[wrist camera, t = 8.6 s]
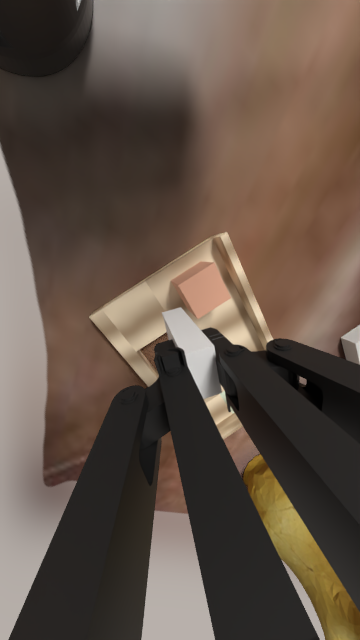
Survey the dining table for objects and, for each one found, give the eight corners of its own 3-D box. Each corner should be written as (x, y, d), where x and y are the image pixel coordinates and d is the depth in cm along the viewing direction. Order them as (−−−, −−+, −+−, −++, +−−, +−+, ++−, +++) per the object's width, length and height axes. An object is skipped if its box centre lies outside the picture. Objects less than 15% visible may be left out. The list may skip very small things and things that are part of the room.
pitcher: (228, 462, 45) (337, 675, 22) (294, 428, 48) (449, 584, 26) (236, 502, 52) (328, 698, 29) (295, 470, 55) (418, 624, 32)
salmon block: (170, 280, 27) (178, 285, 23) (200, 261, 27) (214, 262, 23) (187, 309, 29) (197, 319, 25) (215, 291, 29) (231, 297, 25)
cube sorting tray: (92, 312, 29) (84, 323, 24) (212, 235, 29) (226, 231, 25) (192, 431, 40) (200, 454, 36) (276, 375, 41) (295, 391, 36)
